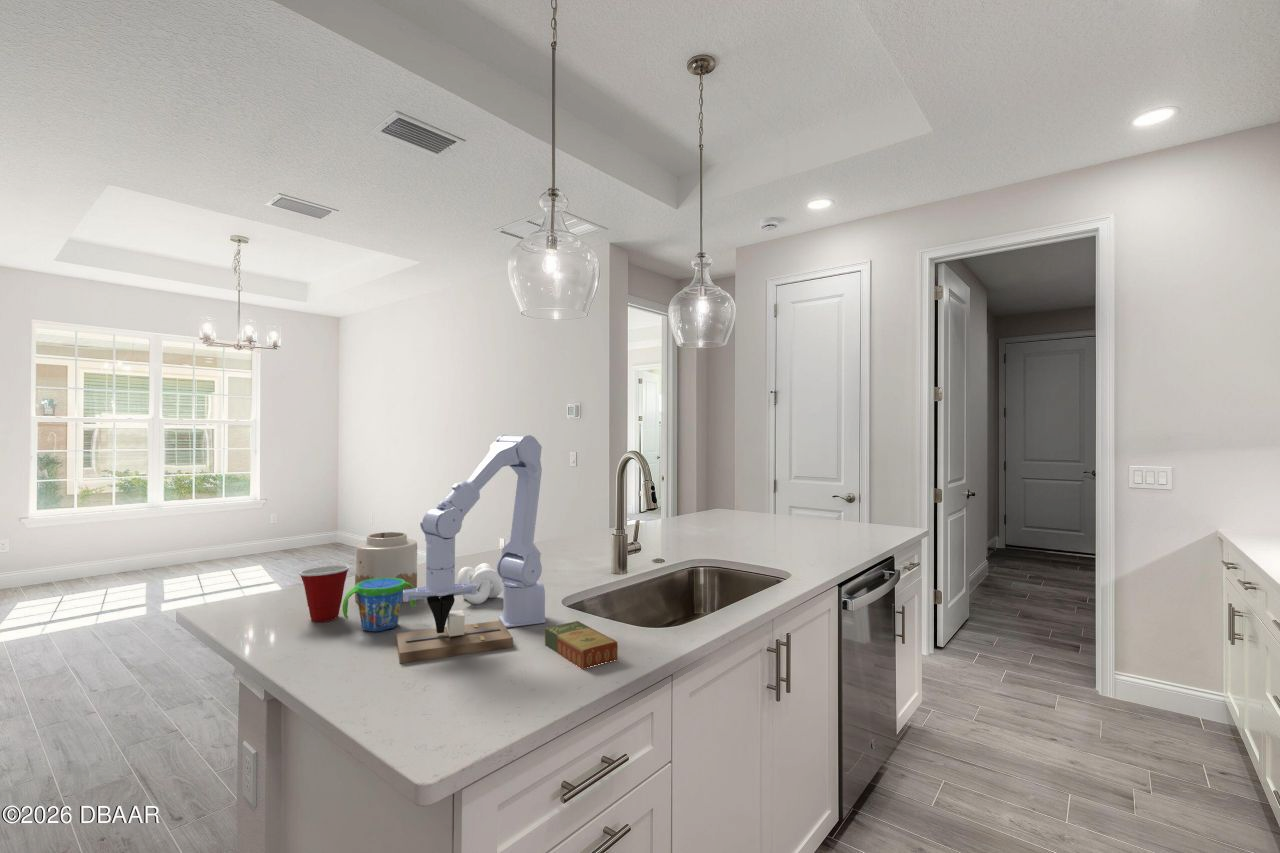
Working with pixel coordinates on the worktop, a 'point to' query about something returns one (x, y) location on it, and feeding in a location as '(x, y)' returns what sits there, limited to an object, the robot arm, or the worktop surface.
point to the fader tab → (455, 623)
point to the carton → (581, 644)
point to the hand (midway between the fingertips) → (440, 631)
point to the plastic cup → (324, 591)
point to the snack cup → (378, 602)
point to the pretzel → (481, 582)
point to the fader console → (452, 642)
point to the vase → (386, 558)
